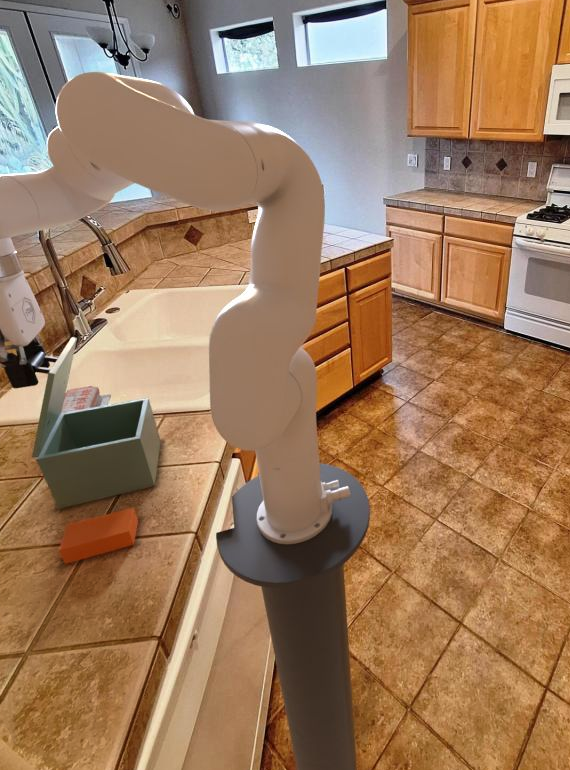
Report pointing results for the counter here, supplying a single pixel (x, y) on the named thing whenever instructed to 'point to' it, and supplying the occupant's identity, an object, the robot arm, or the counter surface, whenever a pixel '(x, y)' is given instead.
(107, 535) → the block
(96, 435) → the bin
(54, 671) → the counter surface
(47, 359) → the bin lid
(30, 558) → the counter surface
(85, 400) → the packaged product
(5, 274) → the robot arm
